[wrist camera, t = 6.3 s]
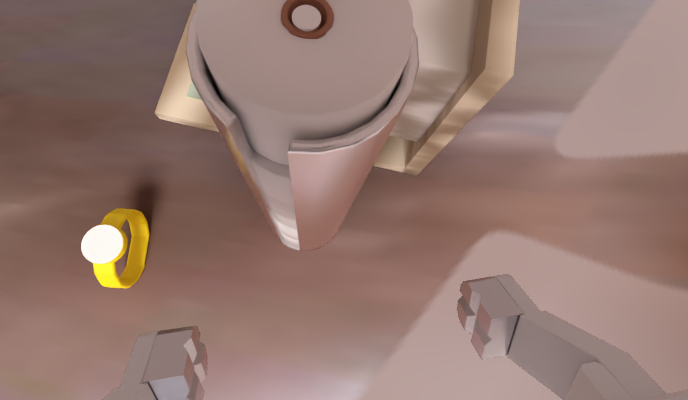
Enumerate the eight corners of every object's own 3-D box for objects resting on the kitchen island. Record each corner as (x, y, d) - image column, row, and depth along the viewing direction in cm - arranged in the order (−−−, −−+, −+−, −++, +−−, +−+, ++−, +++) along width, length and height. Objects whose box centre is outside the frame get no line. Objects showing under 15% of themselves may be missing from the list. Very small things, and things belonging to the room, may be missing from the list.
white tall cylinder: (254, 207, 33) (118, -18, 9) (313, 167, 35) (331, -120, 10) (297, 266, 32) (275, 191, 8) (355, 222, 34) (483, 48, 10)
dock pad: (159, 118, 34) (154, 112, 33) (197, 12, 37) (193, 2, 36) (287, 147, 35) (287, 141, 34) (314, 39, 38) (315, 31, 37)
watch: (152, 286, 31) (116, 291, 25) (117, 285, 31) (72, 290, 25) (161, 215, 32) (128, 204, 26) (127, 213, 32) (87, 202, 26)
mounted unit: (345, 159, 35) (380, 43, 19) (368, 43, 38) (416, -142, 22) (420, 176, 35) (520, 76, 19) (437, 60, 39) (535, -110, 22)
